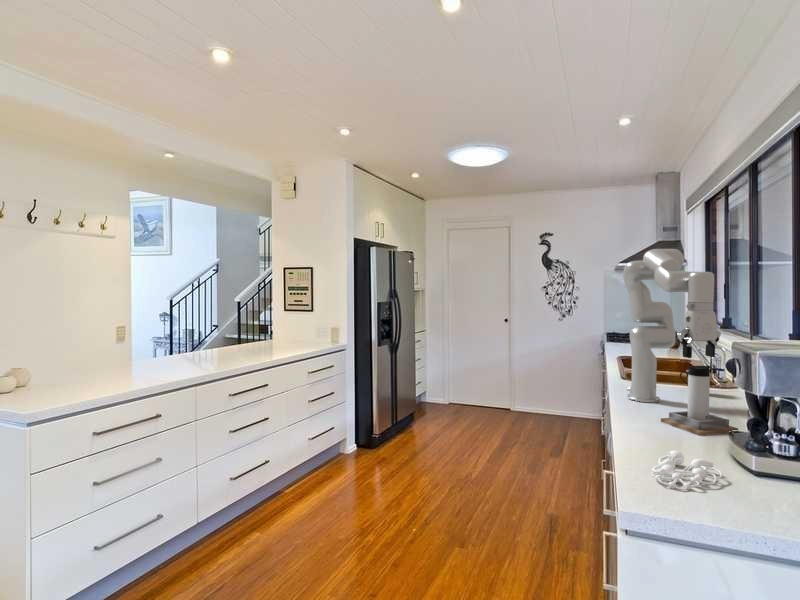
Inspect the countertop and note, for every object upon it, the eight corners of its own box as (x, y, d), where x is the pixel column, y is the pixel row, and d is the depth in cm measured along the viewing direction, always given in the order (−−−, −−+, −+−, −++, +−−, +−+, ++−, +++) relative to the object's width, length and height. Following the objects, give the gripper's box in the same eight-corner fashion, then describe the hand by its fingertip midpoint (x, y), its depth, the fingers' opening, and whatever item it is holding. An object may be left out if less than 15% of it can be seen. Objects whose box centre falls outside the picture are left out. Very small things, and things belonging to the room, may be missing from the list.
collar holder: (660, 421, 168) (660, 411, 168) (697, 418, 172) (697, 408, 172) (698, 435, 153) (699, 424, 152) (738, 431, 156) (738, 420, 156)
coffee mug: (712, 395, 210) (712, 373, 209) (692, 395, 210) (693, 373, 209) (696, 389, 221) (696, 368, 221) (677, 389, 221) (678, 368, 221)
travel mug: (713, 426, 159) (714, 367, 158) (691, 424, 160) (692, 366, 160) (705, 421, 165) (706, 364, 164) (684, 419, 166) (685, 363, 166)
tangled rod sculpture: (701, 504, 107) (703, 487, 106) (636, 479, 118) (637, 464, 117) (727, 479, 119) (729, 464, 119) (666, 459, 130) (668, 445, 130)
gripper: (688, 308, 156) (687, 359, 156) (730, 308, 160) (728, 357, 160) (670, 307, 163) (669, 356, 164) (711, 306, 167) (709, 354, 168)
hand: (698, 356), depth 162 cm, fingers open, 9 cm apart
